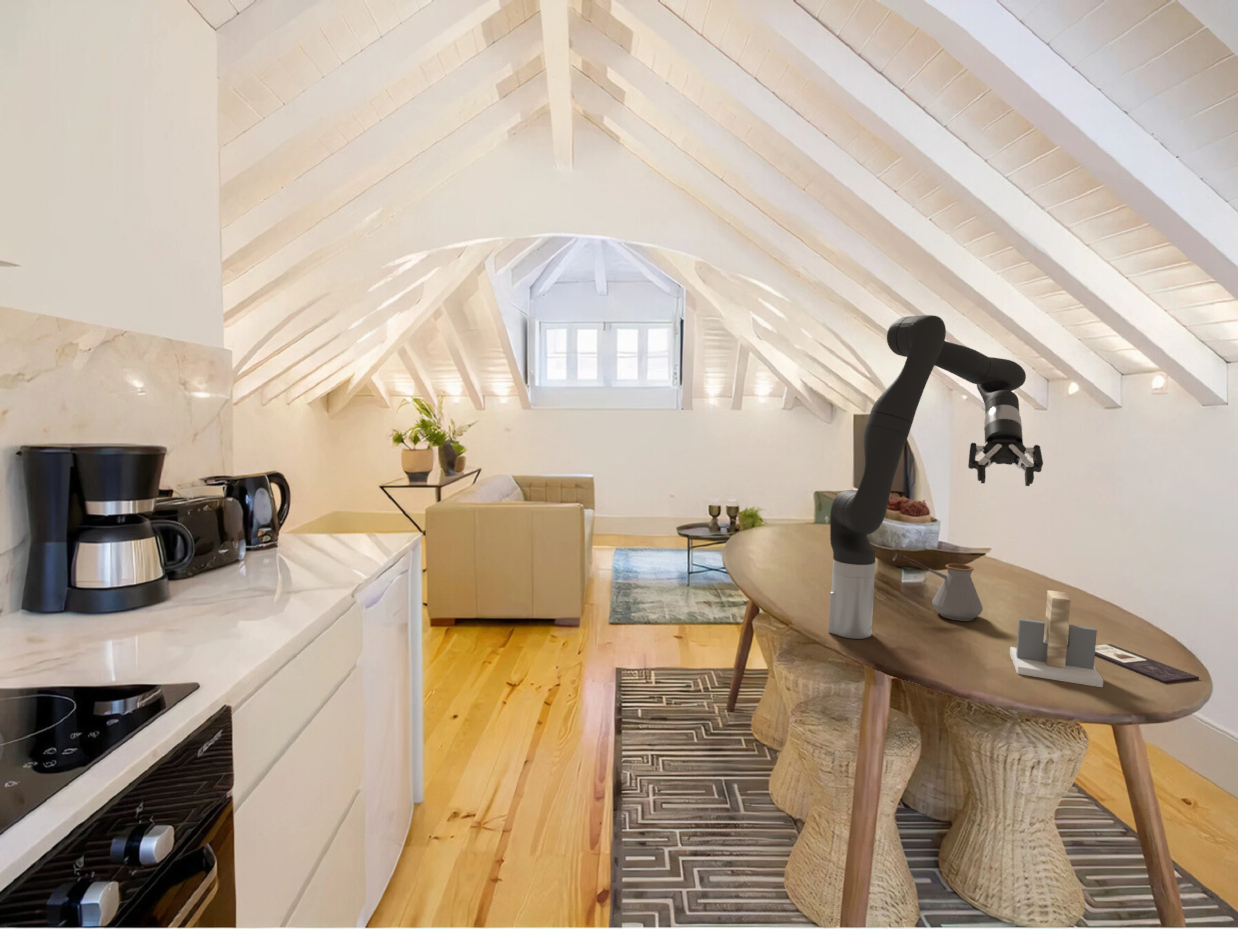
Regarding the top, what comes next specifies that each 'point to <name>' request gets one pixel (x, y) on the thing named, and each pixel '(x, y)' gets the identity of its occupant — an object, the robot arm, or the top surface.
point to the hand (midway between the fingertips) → (1005, 482)
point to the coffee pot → (954, 592)
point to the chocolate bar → (1142, 664)
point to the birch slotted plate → (1056, 628)
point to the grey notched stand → (1078, 654)
